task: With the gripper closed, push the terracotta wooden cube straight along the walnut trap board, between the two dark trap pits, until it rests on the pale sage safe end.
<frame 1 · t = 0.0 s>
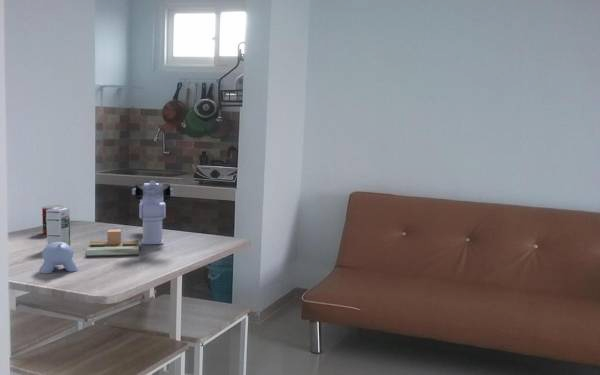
hand: (153, 192, 211), 22 cm above the table, tool horizontal, fingers open, 7 cm apart
syrup box: (58, 248, 218), on the table
hippopotamus toy: (58, 269, 188), on the table
terracotta cube: (114, 242, 217), point 2 cm above the table, touching trap board
canned food: (53, 233, 246), on the table
trap board: (114, 251, 215), on the table
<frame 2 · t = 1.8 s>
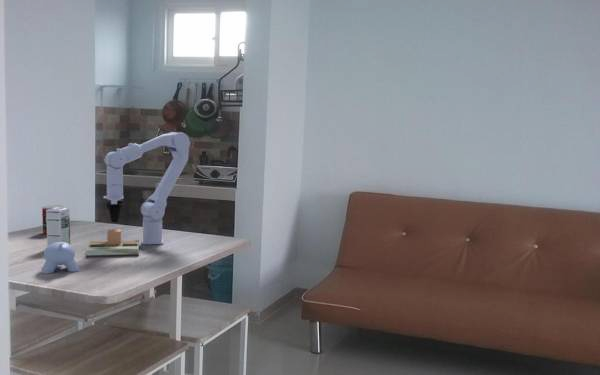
hand: (115, 221, 223), 9 cm above the table, tool pointing down, fingers open, 5 cm apart
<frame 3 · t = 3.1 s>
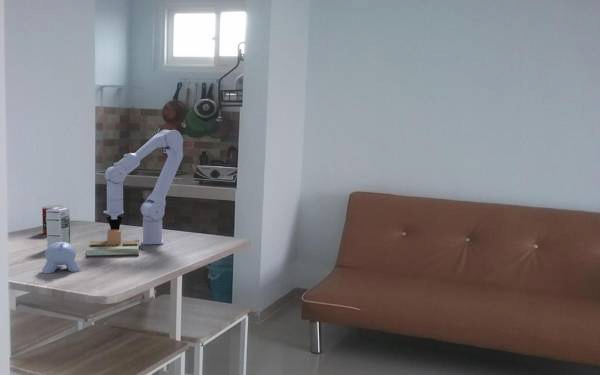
hand: (115, 235, 223), 4 cm above the table, tool pointing down, fingers closed
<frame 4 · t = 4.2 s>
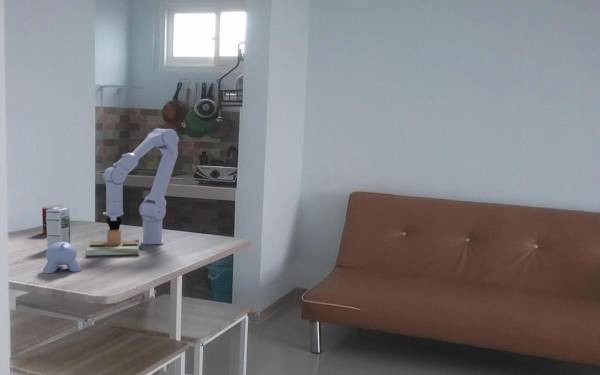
hand: (114, 237, 220), 4 cm above the table, tool pointing down, fingers closed
terracotta cube: (114, 243, 217), point 3 cm above the table, touching gripper, trap board
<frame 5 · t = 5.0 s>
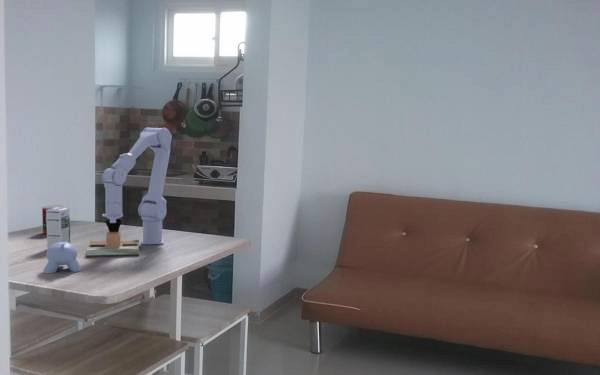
hand: (114, 239, 216), 4 cm above the table, tool pointing down, fingers closed
terracotta cube: (113, 245, 212), point 3 cm above the table, touching gripper
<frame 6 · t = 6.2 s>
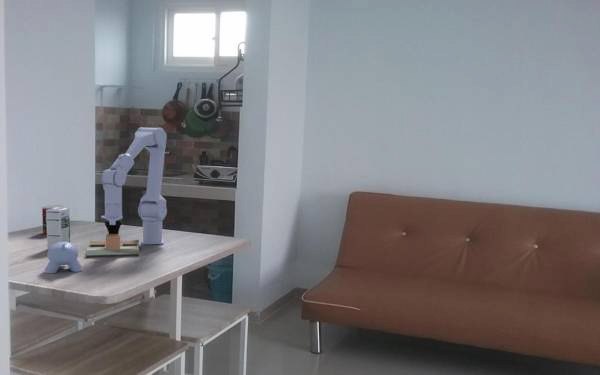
hand: (113, 242, 212), 4 cm above the table, tool pointing down, fingers closed
terracotta cube: (113, 248, 209), point 3 cm above the table, touching gripper, trap board
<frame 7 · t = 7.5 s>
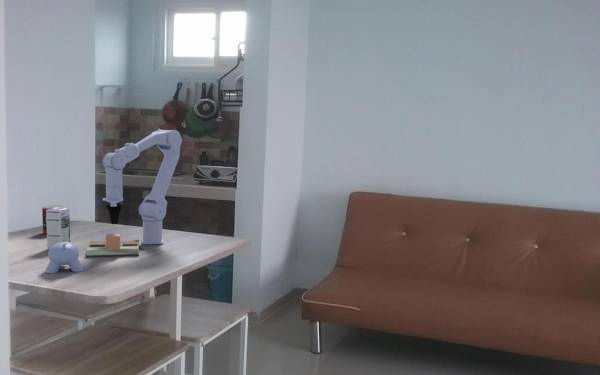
hand: (114, 223, 218), 9 cm above the table, tool pointing down, fingers closed
terracotta cube: (113, 248, 209), point 2 cm above the table, touching trap board
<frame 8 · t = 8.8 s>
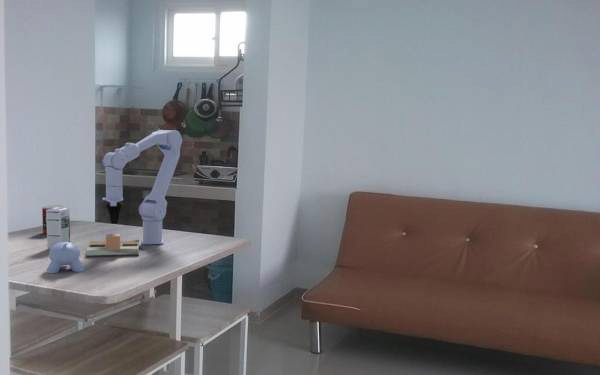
hand: (114, 223, 218), 9 cm above the table, tool pointing down, fingers closed
at the end: terracotta cube 1.0 cm from the target spot on the trap board, point 2.5 cm above the trap board's base; terracotta cube tilted 0°; terracotta cube moved 9.0 cm from its start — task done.
